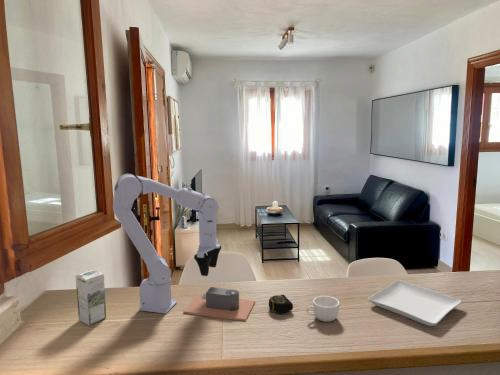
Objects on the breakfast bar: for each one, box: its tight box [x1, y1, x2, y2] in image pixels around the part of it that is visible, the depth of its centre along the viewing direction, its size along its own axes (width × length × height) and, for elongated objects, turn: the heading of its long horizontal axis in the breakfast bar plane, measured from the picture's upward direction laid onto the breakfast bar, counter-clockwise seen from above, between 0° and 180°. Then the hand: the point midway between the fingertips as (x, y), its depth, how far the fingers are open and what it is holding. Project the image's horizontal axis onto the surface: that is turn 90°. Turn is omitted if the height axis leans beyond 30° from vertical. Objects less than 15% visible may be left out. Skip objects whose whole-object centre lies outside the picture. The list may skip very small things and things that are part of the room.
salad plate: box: [367, 279, 462, 327], centre depth 114 cm, size 21×21×3 cm
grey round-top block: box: [201, 286, 240, 311], centre depth 114 cm, size 12×4×5 cm, turn 75°
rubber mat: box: [183, 294, 256, 322], centre depth 114 cm, size 20×12×1 cm, turn 76°
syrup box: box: [75, 269, 107, 326], centre depth 107 cm, size 6×6×14 cm
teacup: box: [306, 295, 340, 323], centre depth 107 cm, size 10×8×5 cm
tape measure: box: [268, 294, 294, 314], centre depth 113 cm, size 7×7×4 cm
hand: (208, 271), depth 120 cm, fingers open, 7 cm apart
